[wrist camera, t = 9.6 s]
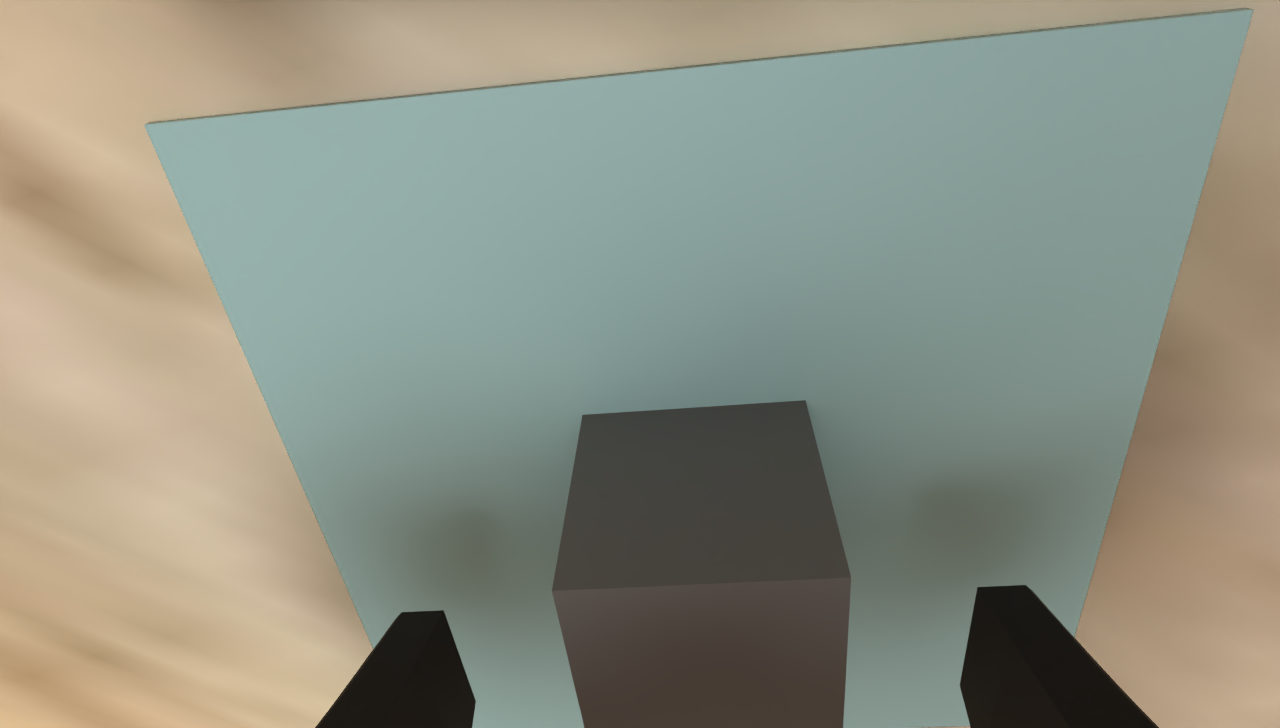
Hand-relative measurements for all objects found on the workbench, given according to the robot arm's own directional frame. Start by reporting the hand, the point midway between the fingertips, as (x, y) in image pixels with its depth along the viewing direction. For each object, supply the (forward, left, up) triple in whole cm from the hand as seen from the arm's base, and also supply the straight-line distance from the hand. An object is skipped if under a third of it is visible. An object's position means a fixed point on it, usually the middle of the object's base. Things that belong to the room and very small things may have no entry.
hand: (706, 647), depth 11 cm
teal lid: (0, 0, -4) cm, 4 cm away
